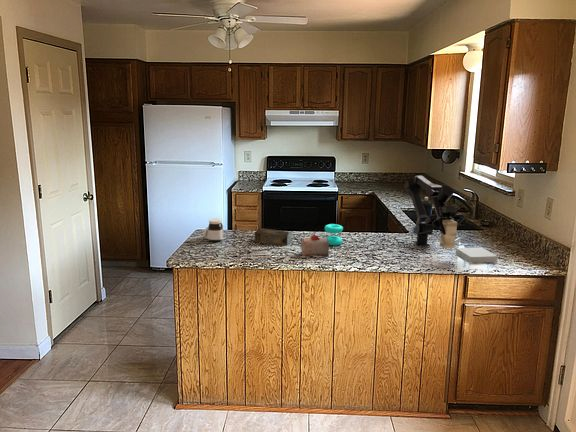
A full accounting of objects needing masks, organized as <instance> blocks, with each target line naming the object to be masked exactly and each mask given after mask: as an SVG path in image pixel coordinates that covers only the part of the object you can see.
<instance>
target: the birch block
mask: <svg viewBox="0 0 576 432" xmlns="http://www.w3.org/2000/svg"><path fill="white" fill-rule="evenodd" d="M442 224H443V227H444V230H445V233H446V234H445V235H444V234H442V233H441V232H440V237H439V238H440V239H439V246H440V247H442V248H443V249H455V247H456V246H455V245H456V239H457V238H456V237H457V228H458V224H457V222H456V221H454V220H442Z"/></svg>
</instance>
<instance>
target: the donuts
mask: <svg viewBox="0 0 576 432" xmlns="http://www.w3.org/2000/svg"><path fill="white" fill-rule="evenodd" d="M343 230H344V227H343V226H342V225H340V224H336V223H329V224H326V225H325V226H324V231H325V232H326V233H328V234H340V233H342V232H343ZM325 238H327V239H328V242H329V246H339V245H341V244H342V243H343V238H341V237H340V236H338V235H327V236H325Z"/></svg>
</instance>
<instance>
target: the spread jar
mask: <svg viewBox="0 0 576 432" xmlns="http://www.w3.org/2000/svg"><path fill="white" fill-rule="evenodd" d="M222 221H223V219H221V218H210V219H209V220H208V226H207V227H206V228H205V229H204V230H203V233H202V237H203V238H205V239H208V241H209V242H211V243H219V242H223V240H224V225H223V222H222Z"/></svg>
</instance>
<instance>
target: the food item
mask: <svg viewBox="0 0 576 432" xmlns="http://www.w3.org/2000/svg"><path fill="white" fill-rule="evenodd" d="M329 246H330V245H329V242H328V239H327V238H326V237H319V236H318V235H316V234H313V235H312V236H310V237H309V238H307V237H306V238H303V239H302V240H301V241H300V248H301V249H300V250H301V253H302V255H303V256H304V257H312V256H315V257H316V255H318V256H322V255H323V256H329V255H330V253H329V252H330V251H329Z"/></svg>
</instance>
